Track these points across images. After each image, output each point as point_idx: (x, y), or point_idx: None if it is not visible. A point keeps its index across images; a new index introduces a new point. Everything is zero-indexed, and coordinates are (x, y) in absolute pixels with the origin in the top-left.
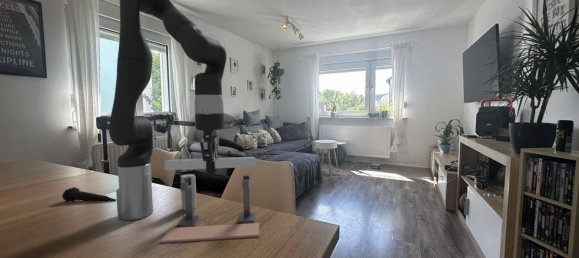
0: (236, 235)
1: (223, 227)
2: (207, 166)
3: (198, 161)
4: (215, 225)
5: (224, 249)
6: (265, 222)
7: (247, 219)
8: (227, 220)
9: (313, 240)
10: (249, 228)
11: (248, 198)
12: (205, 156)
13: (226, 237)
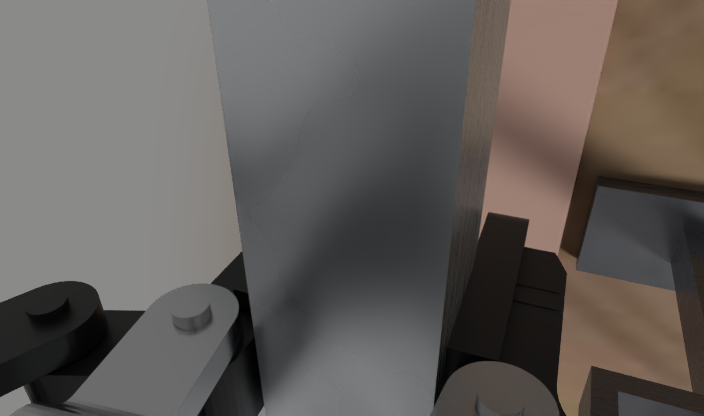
0: None
1: (557, 95)
2: (234, 269)
3: (249, 170)
4: (607, 40)
5: None
6: (571, 308)
7: (604, 239)
8: (699, 114)
9: None
10: None
11: (686, 336)
12: (38, 374)
13: None
